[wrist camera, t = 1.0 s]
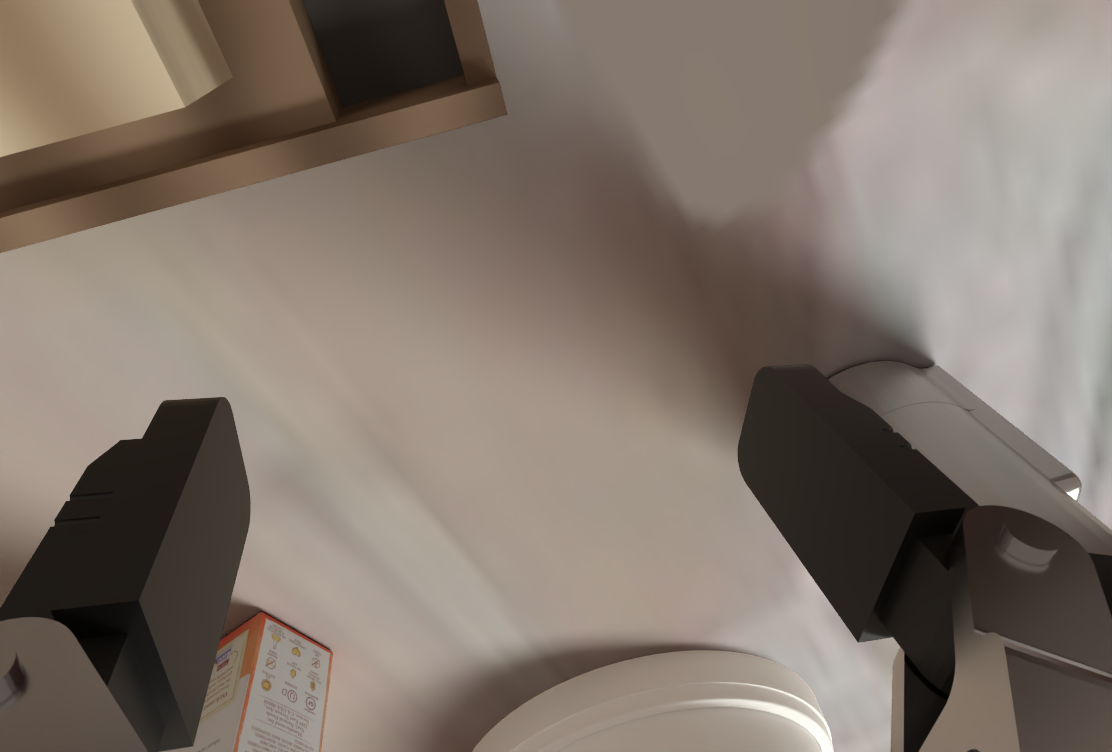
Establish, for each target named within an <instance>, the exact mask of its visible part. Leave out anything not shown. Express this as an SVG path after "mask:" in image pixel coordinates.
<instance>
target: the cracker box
mask: <svg viewBox="0 0 1112 752" xmlns="http://www.w3.org/2000/svg"><path fill="white" fill-rule="evenodd" d="M332 655H333V653H332V651H330V650H329V649H327V648H325V647H323V646H321V645H319V644H317V643H316V642H314V641H312V640H311V639H309V638H307V637H305V636H304V635H302V634H300V633H298V632H296V631H295V630H293V629H291V628H290V627H288V626H286V625H284V624H283V623H281V622H279V621H277V620H276V619H274V618H272V617H270V616H268V615H267V614H265V613H263V612H261V613H258V614H257V615H256V616H254V617H253V618H251V619H250V620H248V621H247V622H246V623H244V624H243V625H241V626H240V627H238V628H237V629H236V630H234V631H233V632H231V633H230V634H228V635H227V636H225V637H224V638H223V639H221V640H220V643H219V647H218V651H217V655H216V659H215V663H214V666H213V670H212V674H211V678H210V682H209V686H208V690H207V694H206V698H205V702H204V706H203V710H202V714H201V718H200V722H199V726H198V729H197V733H196V737H195V741H194V745H193V747H186V748H180V749H174V750H168V751H161V752H322V745H323V736H324V728H325V719H326V710H327V700H328V691H329V683H330V673H331V665H332Z"/></svg>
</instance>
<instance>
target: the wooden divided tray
mask: <svg viewBox="0 0 1112 752" xmlns="http://www.w3.org/2000/svg"><path fill="white" fill-rule="evenodd" d="M198 2H199V4H200V6H201V8H202V11H203V13H204V15H205V17H206V19H207V21H208V24H209V26H210V28H211V30H212V32H213V35H214V37H215V39H216V41H217V43H218V45H219V48H220V50H221V52H222V54H223V56H224V59H225V61H226V63H227V65H228V67H229V69H230V72H231V74H232V76H233V78H231V79H230V80H228V81H227V82H225V83H223V84H222V85H220V86H219V87H217V88H215V89H214V90H212V91H211V92H209V93H207V94H206V95H204V96H202V97H201V98H199V99H198V100H196V101H194V102H193V103H191V104H190V105H188V106H186V107H184V108H181V109H177V110H173V111H169V112H166V113H162V114H158V115H155V116H151V117H147V118H144V119H140V120H136V121H132V122H129V123H125V124H121V125H118V126H114V127H110V128H106V129H103V130H99V131H95V132H92V133H88V134H84V135H81V136H77V137H73V138H69V139H66V140H62V141H58V142H55V143H51V144H47V145H43V146H40V147H36V148H32V149H29V150H25V151H21V152H18V153H14V154H10V155H6V156H3V157H0V253H2V252H6V251H9V250H13V249H17V248H20V247H24V246H28V245H31V244H35V243H39V242H42V241H46V240H50V239H53V238H57V237H61V236H64V235H68V234H72V233H75V232H79V231H83V230H86V229H90V228H94V227H97V226H101V225H105V224H108V223H112V222H116V221H119V220H123V219H127V218H130V217H134V216H138V215H141V214H145V213H148V212H152V211H156V210H159V209H163V208H167V207H170V206H174V205H178V204H181V203H185V202H189V201H192V200H196V199H200V198H203V197H207V196H211V195H214V194H218V193H222V192H225V191H229V190H233V189H236V188H240V187H244V186H247V185H251V184H255V183H258V182H262V181H266V180H269V179H273V178H277V177H280V176H284V175H288V174H291V173H295V172H299V171H302V170H306V169H310V168H313V167H317V166H321V165H324V164H328V163H332V162H335V161H339V160H343V159H346V158H350V157H354V156H357V155H361V154H365V153H368V152H372V151H376V150H379V149H383V148H387V147H390V146H394V145H398V144H401V143H405V142H409V141H412V140H416V139H420V138H423V137H427V136H431V135H434V134H438V133H442V132H445V131H449V130H453V129H456V128H460V127H464V126H467V125H471V124H475V123H478V122H482V121H486V120H489V119H493V118H496V117H500V116H504V115H507V111H506V107H505V103H504V99H503V95H502V91H501V87H500V83H499V81H498V79H497V78H496V74H495V70H494V66H493V62H492V58H491V54H490V50H489V46H488V42H487V38H486V34H485V30H484V26H483V22H482V18H481V14H480V10H479V6H478V2H477V0H198Z"/></svg>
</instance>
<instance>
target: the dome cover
mask: <svg viewBox="0 0 1112 752" xmlns="http://www.w3.org/2000/svg"><path fill="white" fill-rule="evenodd" d="M472 752H834V751H833V745H832V738H831V733H830V729H829V727H828V725H827V723H826V720H825V718H824V716H823V714H822V711H821V709H820V707H819V705H818V702H817V700H816V698H815V696H814V694H813V692H812V690H811V689H810V687H809V686H808V685H807V684H806V683H805V681H804V680H803V679H801V678H800V677H799V676H798V675H797V674H796V673H794V672H793V671H791V670H789V669H788V668H786V667H784V666H782V665H780V664H778V663H776V662H773V661H771V660H768V659H765V658H762V657H758V656H754V655H750V654H744V653H738V652H731V651H717V650H692V651H677V652H669V653H661V654H654V655H649V656H643V657H638V658H634V659H630V660H626V661H621V662H617V663H614V664H611V665H608V666H604V667H601V668H598V669H595V670H592V671H590V672H587V673H584V674H581V675H579V676H576V677H574V678H572V679H569V680H567V681H565V682H563V683H560V684H558V685H556V686H554V687H552V688H550V689H548V690H546V691H544V692H542V693H541V694H539V695H537V696H536V697H534V698H532V699H531V700H529V701H527V702H526V703H524V704H523V705H521V706H520V707H518V708H517V709H515V710H514V711H512V712H511V713H510V714H508V715H507V716H506V717H505V718H503V719H502V720H501V721H500V722H498V723H497V724H496V725H495V726H494V727H493V728H492V729H491V730H490V731H489V732H488V733H487V734H486V735H485V736H484V737H483V738H482V739H481V740H480V742H479V743H478V744H477V745H476V746H475V748H474V749H473V751H472Z"/></svg>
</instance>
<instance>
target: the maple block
mask: <svg viewBox="0 0 1112 752" xmlns="http://www.w3.org/2000/svg"><path fill="white" fill-rule="evenodd" d="M231 78H233V76H232V74H231V72H230V69H229V67H228V65H227V63H226V61H225V59H224V56H223V54H222V52H221V50H220V48H219V45H218V43H217V41H216V39H215V37H214V35H213V32H212V30H211V28H210V26H209V24H208V21H207V19H206V17H205V15H204V13H203V11H202V8H201V6H200V4H199V2H198V0H0V157H3V156H6V155H10V154H14V153H18V152H21V151H25V150H29V149H32V148H36V147H40V146H43V145H47V144H51V143H55V142H58V141H62V140H66V139H69V138H73V137H77V136H81V135H84V134H88V133H92V132H95V131H99V130H103V129H106V128H110V127H114V126H118V125H121V124H125V123H129V122H132V121H136V120H140V119H144V118H147V117H151V116H155V115H158V114H162V113H166V112H169V111H173V110H177V109H181V108H184V107H186V106H188V105H190V104H191V103H193V102H194V101H196V100H198V99H199V98H201V97H202V96H204V95H206V94H207V93H209V92H211V91H212V90H214V89H215V88H217V87H219V86H220V85H222V84H223V83H225V82H227V81H228V80H230V79H231Z"/></svg>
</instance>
